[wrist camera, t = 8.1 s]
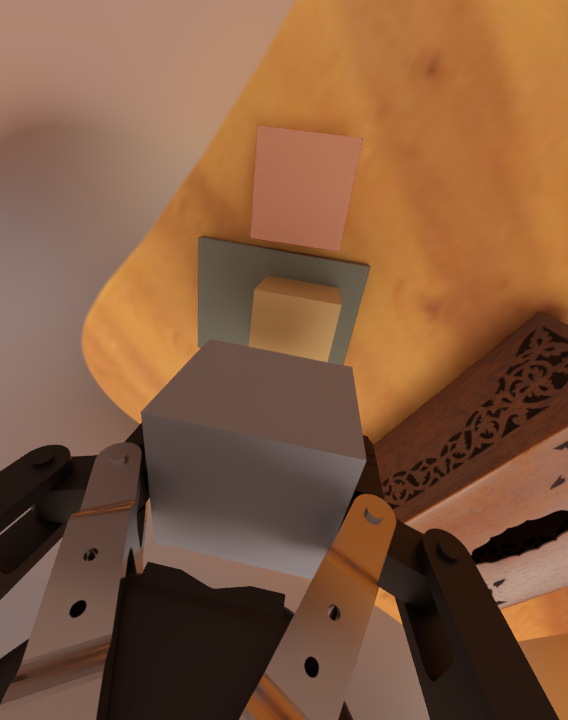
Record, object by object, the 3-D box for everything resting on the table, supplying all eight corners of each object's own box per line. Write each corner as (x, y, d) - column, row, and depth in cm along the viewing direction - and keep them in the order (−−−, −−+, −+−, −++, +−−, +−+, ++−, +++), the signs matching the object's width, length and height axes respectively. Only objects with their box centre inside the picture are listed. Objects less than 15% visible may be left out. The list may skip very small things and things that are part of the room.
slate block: (209, 338, 12) (140, 412, 8) (352, 367, 12) (366, 460, 7) (206, 444, 15) (154, 542, 10) (320, 469, 15) (317, 580, 10)
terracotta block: (272, 143, 21) (257, 125, 16) (355, 154, 20) (362, 138, 16) (264, 233, 24) (250, 237, 19) (337, 244, 23) (339, 251, 19)
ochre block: (267, 275, 24) (254, 289, 20) (339, 287, 24) (341, 305, 19) (260, 340, 27) (246, 365, 22) (323, 352, 26) (322, 380, 22)
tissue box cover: (422, 528, 37) (451, 626, 29) (335, 473, 35) (337, 561, 26) (645, 404, 26) (808, 503, 17) (537, 310, 24) (661, 369, 15)
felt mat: (203, 236, 24) (198, 237, 23) (368, 265, 23) (370, 267, 23) (202, 343, 29) (198, 347, 28) (339, 369, 28) (340, 375, 27)
